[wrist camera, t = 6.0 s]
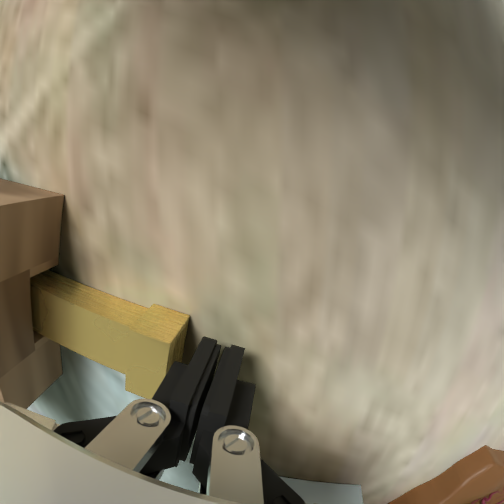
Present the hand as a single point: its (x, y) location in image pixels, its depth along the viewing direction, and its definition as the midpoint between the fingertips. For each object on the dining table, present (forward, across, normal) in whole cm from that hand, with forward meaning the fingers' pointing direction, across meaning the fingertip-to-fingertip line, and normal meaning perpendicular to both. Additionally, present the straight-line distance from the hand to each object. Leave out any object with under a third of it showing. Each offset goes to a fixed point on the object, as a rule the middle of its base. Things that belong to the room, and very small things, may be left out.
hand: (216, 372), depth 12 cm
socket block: (+1, +12, 0) cm, 13 cm away
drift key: (+1, +8, 0) cm, 8 cm away
